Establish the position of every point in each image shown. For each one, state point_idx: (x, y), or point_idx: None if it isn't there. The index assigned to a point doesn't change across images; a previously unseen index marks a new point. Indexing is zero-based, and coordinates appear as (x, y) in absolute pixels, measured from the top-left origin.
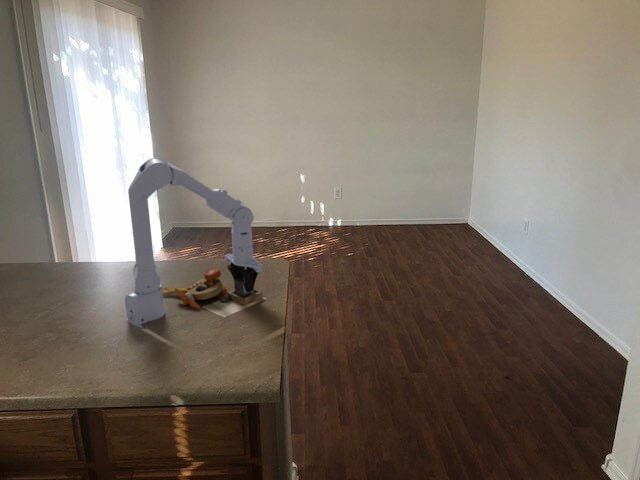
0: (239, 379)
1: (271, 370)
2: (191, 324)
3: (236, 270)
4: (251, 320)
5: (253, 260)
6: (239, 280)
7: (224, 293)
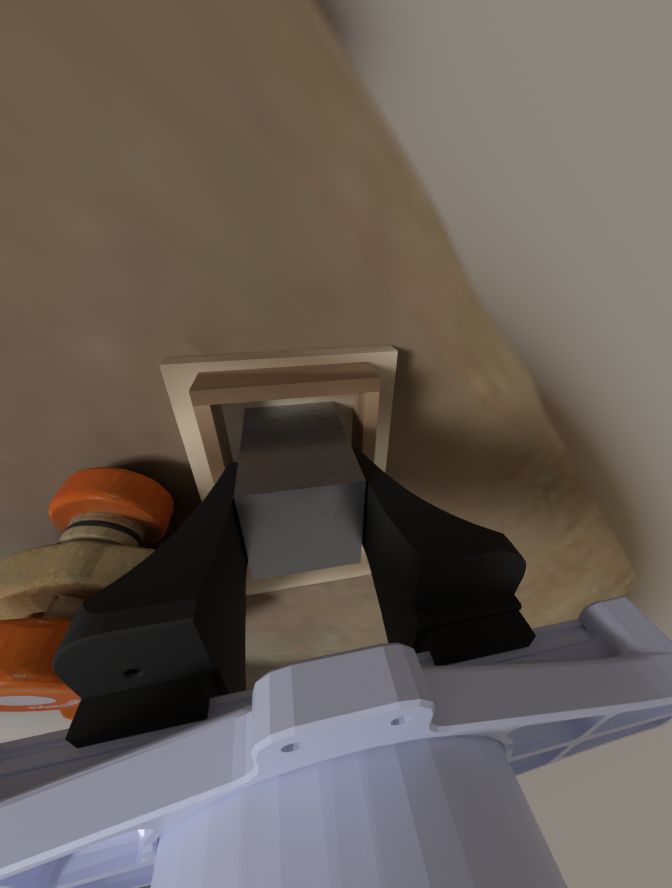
0: (572, 616)
1: (623, 573)
2: (306, 625)
3: (238, 640)
4: (451, 502)
5: (502, 726)
6: (290, 559)
7: (166, 504)
